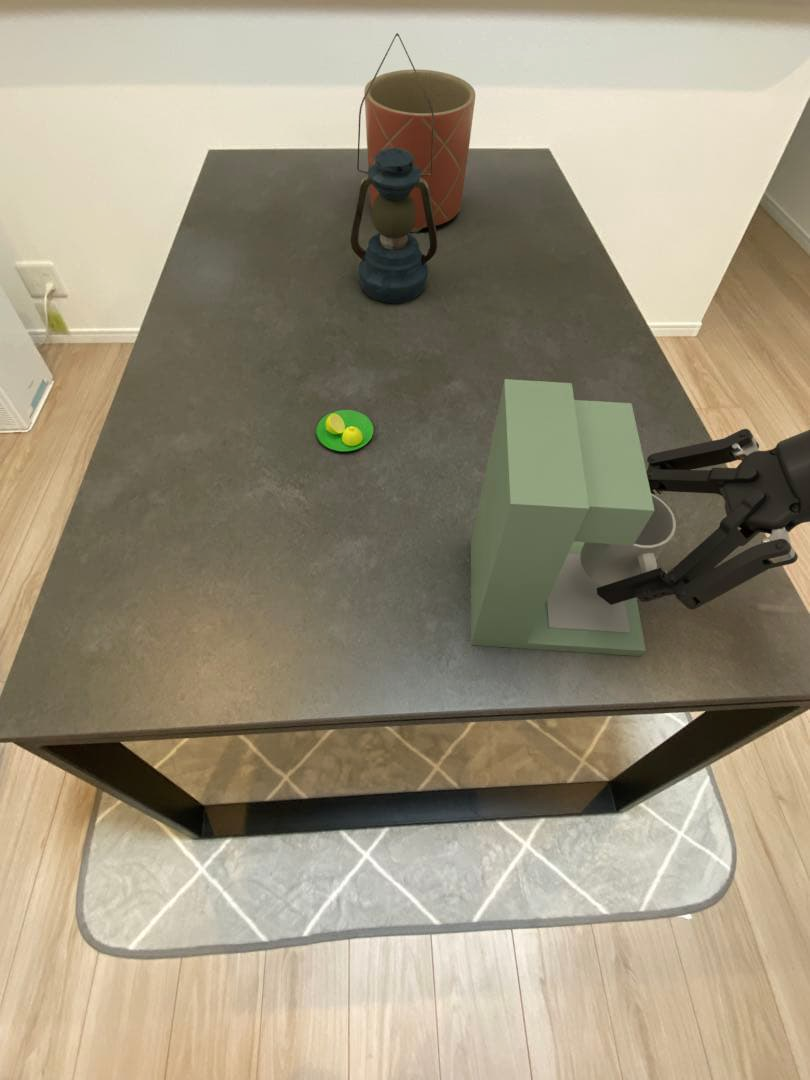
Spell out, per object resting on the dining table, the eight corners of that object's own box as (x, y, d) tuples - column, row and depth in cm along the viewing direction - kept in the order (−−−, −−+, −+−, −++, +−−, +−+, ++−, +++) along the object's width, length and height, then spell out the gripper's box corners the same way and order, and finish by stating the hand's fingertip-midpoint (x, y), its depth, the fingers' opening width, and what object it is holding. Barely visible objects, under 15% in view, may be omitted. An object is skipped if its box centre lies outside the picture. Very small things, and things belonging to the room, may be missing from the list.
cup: (630, 533, 70) (660, 485, 62) (663, 610, 64) (699, 568, 57) (570, 540, 69) (593, 492, 61) (598, 618, 63) (626, 576, 56)
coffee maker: (623, 551, 75) (718, 391, 53) (641, 656, 67) (762, 519, 45) (470, 541, 75) (504, 378, 53) (470, 645, 67) (510, 503, 46)
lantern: (349, 303, 101) (333, 47, 72) (356, 263, 108) (345, 14, 79) (432, 308, 101) (451, 53, 72) (435, 268, 108) (452, 20, 79)
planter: (412, 246, 112) (416, 125, 95) (347, 205, 119) (341, 86, 103) (483, 213, 119) (498, 94, 102) (418, 176, 127) (423, 60, 110)
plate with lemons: (310, 449, 83) (308, 435, 80) (324, 409, 87) (322, 394, 85) (367, 458, 82) (366, 443, 80) (378, 417, 87) (378, 402, 84)
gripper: (905, 601, 46) (629, 664, 59) (815, 396, 58) (603, 487, 72) (883, 559, 42) (590, 638, 55) (790, 348, 54) (570, 454, 67)
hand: (598, 552), depth 63 cm, fingers closed on cup, 10 cm apart
